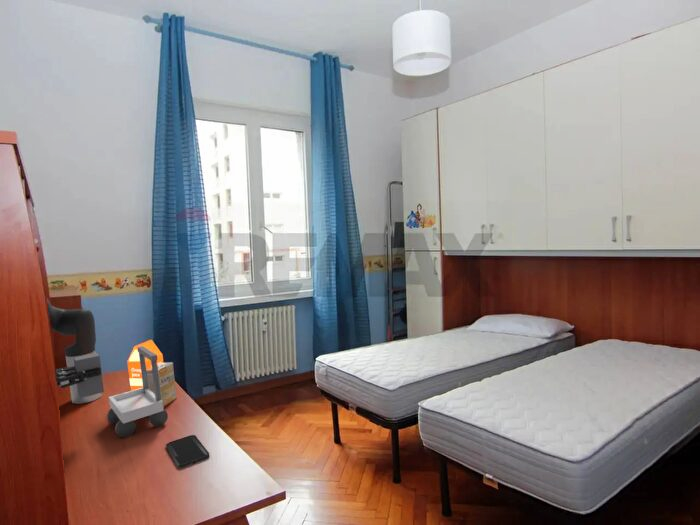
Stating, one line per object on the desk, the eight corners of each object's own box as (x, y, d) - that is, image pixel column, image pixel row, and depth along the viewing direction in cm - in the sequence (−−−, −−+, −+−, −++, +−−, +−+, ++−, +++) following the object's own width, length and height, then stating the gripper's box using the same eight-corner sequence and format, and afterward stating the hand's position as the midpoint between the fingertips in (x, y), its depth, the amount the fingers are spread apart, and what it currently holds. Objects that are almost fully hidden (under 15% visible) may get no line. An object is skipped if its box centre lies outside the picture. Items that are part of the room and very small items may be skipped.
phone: (194, 434, 122) (210, 454, 109) (194, 437, 122) (210, 458, 110) (164, 443, 117) (178, 466, 105) (164, 447, 117) (178, 471, 105)
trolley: (106, 423, 135) (97, 355, 134) (153, 408, 144) (145, 344, 142) (119, 442, 122) (109, 367, 120) (170, 425, 130) (162, 354, 128)
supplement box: (163, 408, 144) (158, 370, 143) (150, 408, 145) (145, 370, 144) (177, 398, 152) (173, 361, 151) (165, 398, 153) (161, 362, 152)
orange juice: (167, 392, 158) (161, 339, 156) (150, 402, 150) (143, 346, 148) (149, 392, 160) (142, 339, 158) (131, 402, 152) (124, 346, 150)
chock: (78, 394, 127) (73, 357, 126) (101, 388, 131) (97, 352, 130) (80, 398, 124) (75, 360, 123) (103, 392, 127) (99, 355, 127)
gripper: (27, 377, 112) (102, 361, 123) (25, 366, 123) (93, 352, 134) (31, 405, 113) (105, 387, 123) (28, 392, 124) (96, 376, 134)
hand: (98, 369), depth 129 cm, fingers closed on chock, 4 cm apart
